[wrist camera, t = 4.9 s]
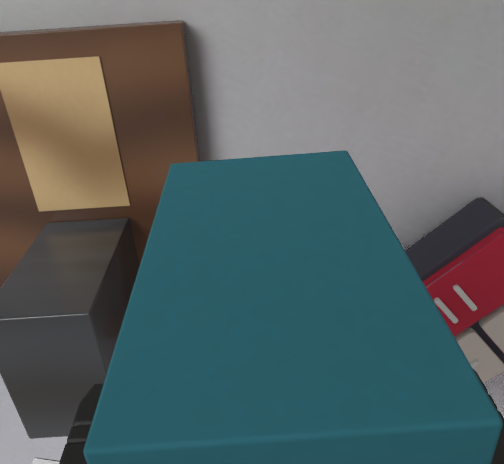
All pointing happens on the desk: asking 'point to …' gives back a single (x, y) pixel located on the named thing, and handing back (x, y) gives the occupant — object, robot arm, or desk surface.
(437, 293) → the calculator
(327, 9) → the desk surface
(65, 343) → the wooden stand
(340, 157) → the teal block
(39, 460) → the white ice cube tray
